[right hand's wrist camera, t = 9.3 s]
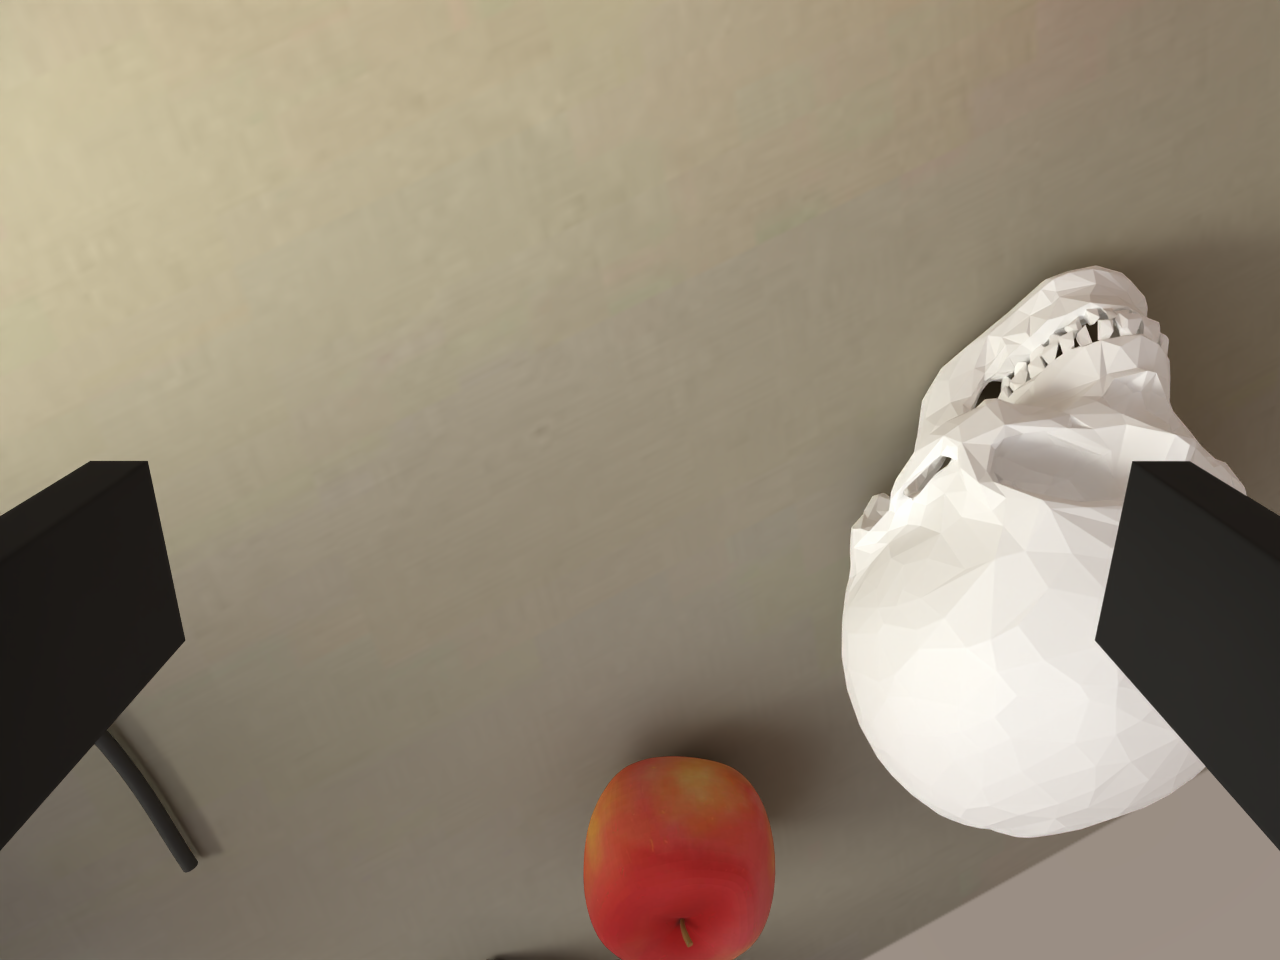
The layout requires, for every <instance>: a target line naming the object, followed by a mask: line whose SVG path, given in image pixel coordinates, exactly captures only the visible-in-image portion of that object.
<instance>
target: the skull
mask: <svg viewBox="0 0 1280 960" xmlns="http://www.w3.org/2000/svg"><path fill="white" fill-rule="evenodd" d="M1147 310H1148V306H1147V303H1146V299H1145V296H1144V295H1143V294H1142V293H1141V292H1140V291H1139V289H1138V288H1137V287H1136V286H1135V285H1134V284H1133V283H1132V281H1131V280H1129V279H1128V278H1127V277H1126V276H1125V275H1124V274H1123V273H1122V272H1118V271H1115V270H1111V269H1107V268H1104V267H1100V266H1097V265H1095V266H1090V267H1085V268H1080V269H1075V270H1070V271H1066V272H1064V273H1061V274H1058V275H1056V276H1053V277H1050V278H1048V279H1045V280H1044V281H1043V282H1041V283H1040V284H1039V285H1038V286H1037V287H1036V288H1035V289H1034V290H1032V291H1031V292H1030V293H1029V294H1028V295H1027V296H1026V297H1025V298H1024V299H1022V300H1021V301H1020V302H1019V303H1018V304H1017V305H1016V306H1015V307H1014V308H1012V309H1011V310H1010V311H1009V312H1008V313H1007V314H1006V315H1004V316H1003V317H1002V318H1001V319H1000V320H998V321H997V322H996V323H995V324H993V325H992V326H991V327H990V328H989V329H987V330H986V331H985V332H984V333H982V334H981V335H980V336H979V337H978V338H976V339H975V340H974V341H973V342H972V343H970V344H969V345H968V346H967V347H965V348H964V349H963V350H962V351H961V352H960V353H958V354H957V355H956V356H955V357H954V358H953V359H951V360H950V361H949V362H948V363H947V364H946V365H944V366H943V367H942V368H941V369H940V371H939V373H938V374H937V376H936V378H935V379H934V381H933V383H932V384H931V386H930V388H929V389H928V391H927V393H926V395H925V397H924V398H923V400H922V405H921V413H920V420H919V427H918V434H917V439H916V444H915V450H914V453H913V455H912V456H911V458H910V459H909V461H908V462H907V464H906V465H905V467H904V468H903V470H902V471H901V473H900V474H899V476H898V477H897V478H896V481H895V483H894V486H893V488H892V491H891V497H890V496H888V495H887V494H885V493H881V494H877V495H874V496H872V498H871V500H870V501H869V503H868V505H867V507H866V508H865V510H864V513H863V515H862V516H861V517H860V518H859V519H858V520H857V522H856V523H855V524H854V525H853V526H852V530H851V538H850V561H851V568H850V575H849V581H848V584H847V588H846V594H845V602H844V610H843V618H842V661H843V667H844V673H845V679H846V686H847V691H848V694H849V696H850V699H851V702H852V705H853V708H854V711H855V714H856V717H857V719H858V722H859V725H860V727H861V729H862V731H863V732H864V734H865V736H866V738H867V740H868V741H869V743H870V745H871V747H872V749H873V750H874V752H875V754H876V756H877V757H878V759H879V760H880V761H881V763H882V764H883V765H884V766H885V768H886V769H887V770H888V771H889V773H890V774H891V775H892V776H893V777H894V778H895V779H896V780H897V781H898V782H899V783H900V784H901V785H902V786H903V787H904V788H905V789H906V790H907V791H908V792H909V793H910V794H912V795H913V796H914V797H916V798H917V799H918V800H920V801H921V802H922V803H924V804H925V805H927V806H928V807H929V808H931V809H932V810H933V811H935V812H936V813H938V814H939V815H941V816H943V817H946V818H948V819H950V820H953V821H956V822H958V823H961V824H963V825H968V826H972V827H977V828H983V829H991V830H993V831H996V832H999V833H1003V834H1007V835H1011V836H1015V837H1025V838H1032V837H1040V836H1047V835H1054V834H1059V833H1064V832H1069V831H1074V830H1079V829H1083V828H1086V827H1089V826H1092V825H1095V824H1098V823H1101V822H1104V821H1107V820H1110V819H1113V818H1116V817H1119V816H1122V815H1125V814H1127V813H1130V812H1133V811H1136V810H1139V809H1142V808H1145V807H1147V806H1149V805H1151V804H1153V803H1154V802H1157V801H1159V800H1160V799H1162V798H1164V797H1166V796H1168V795H1170V794H1171V793H1173V792H1174V791H1175V790H1177V789H1178V788H1180V787H1181V786H1183V785H1184V784H1185V783H1187V782H1188V781H1190V780H1191V779H1193V778H1194V777H1195V776H1196V775H1197V774H1198V773H1199V772H1200V771H1202V770H1203V769H1204V768H1205V767H1206V766H1205V765H1204V764H1203V763H1202V762H1201V761H1200V759H1199V758H1198V757H1197V756H1196V755H1195V754H1194V753H1193V752H1192V750H1191V749H1190V748H1189V747H1188V746H1187V745H1186V744H1185V742H1184V741H1183V740H1182V739H1181V738H1180V737H1179V736H1178V734H1177V733H1176V732H1175V731H1174V730H1173V729H1172V728H1171V727H1170V725H1169V724H1168V723H1167V722H1166V721H1165V720H1164V719H1163V717H1162V716H1161V715H1160V714H1159V713H1158V712H1157V711H1156V709H1155V708H1154V707H1153V706H1152V705H1151V704H1150V703H1149V702H1148V700H1147V699H1146V698H1145V697H1144V696H1143V695H1142V694H1141V692H1140V691H1139V690H1138V689H1137V688H1136V687H1135V686H1134V684H1133V683H1132V682H1131V681H1130V680H1129V679H1128V678H1127V677H1126V675H1125V674H1124V673H1123V672H1122V671H1121V670H1120V669H1119V667H1118V666H1117V665H1116V664H1115V663H1114V662H1113V661H1112V660H1111V658H1110V657H1109V656H1108V655H1107V654H1106V653H1105V652H1104V650H1103V649H1102V648H1101V647H1100V646H1099V645H1098V644H1097V642H1096V641H1095V637H1096V632H1097V627H1098V622H1099V617H1100V613H1101V608H1102V603H1103V598H1104V594H1105V589H1106V584H1107V579H1108V575H1109V570H1110V565H1111V560H1112V555H1113V551H1114V546H1115V541H1116V536H1117V532H1118V527H1119V522H1120V517H1121V512H1122V508H1123V503H1124V498H1125V493H1126V489H1127V484H1128V479H1129V474H1130V470H1131V465H1132V461H1190V462H1192V463H1194V464H1195V465H1197V466H1199V467H1200V468H1202V469H1204V470H1205V471H1207V472H1208V473H1210V474H1212V475H1213V476H1215V477H1217V478H1218V479H1220V480H1221V481H1223V482H1225V483H1226V484H1228V485H1230V486H1231V487H1233V488H1234V489H1236V490H1238V491H1239V492H1241V493H1243V494H1244V495H1246V490H1245V487H1244V486H1243V484H1242V483H1241V482H1240V480H1239V479H1238V478H1237V476H1236V475H1235V474H1234V473H1233V471H1232V470H1231V469H1230V467H1229V466H1228V465H1227V464H1226V463H1225V462H1223V461H1220V460H1217V459H1215V458H1214V457H1213V456H1212V455H1211V454H1210V453H1208V452H1207V451H1206V450H1205V449H1204V448H1203V447H1202V446H1201V445H1200V443H1199V442H1198V441H1197V440H1196V438H1195V437H1194V436H1193V434H1192V433H1191V432H1190V431H1189V429H1188V428H1187V427H1186V426H1185V425H1184V423H1183V422H1182V421H1181V420H1180V419H1179V417H1178V416H1177V415H1176V414H1175V413H1174V411H1173V410H1172V407H1171V404H1170V360H1169V358H1168V357H1167V354H1168V345H1169V339H1168V337H1167V336H1166V335H1165V334H1163V333H1161V332H1160V324H1159V322H1157V321H1155V320H1152V319H1150V318H1148V317H1147ZM1101 319H1105V320H1101ZM1097 320H1098V340H1099V341H1096V342H1093V343H1092V340H1091V338H1090V335H1089V333H1088V330H1087V328H1086V325H1085V326H1084V327H1083V328H1082V325H1084V324H1086V323H1088V324H1089V325H1093V324H1095V322H1096V321H1097ZM1066 332H1067V333H1066ZM1064 333H1066V334H1064ZM1063 334H1064V335H1063ZM1075 338H1076V340H1077V342H1078V343H1079V345H1080V346H1079V347H1076V348H1075V346H1074V339H1075ZM1058 345H1060V346H1061V349H1062V352H1063V354H1062V355H1061V356H1059V357H1058V358H1056V355H1057V352H1058ZM1046 362H1047V364H1048V365H1047V366H1046V364H1045V363H1046ZM1028 363H1029V364H1028ZM1013 375H1014V377H1013V378H1012V380H1011V379H1010V378H1011V377H1012V376H1013ZM1030 378H1031V379H1030ZM991 381H998V382H1002V383H1001V393H1000V395H999V397H998V399H997V398H994V399H985V400H984V401H983V402H982V403H981V404H980V405H978V406H977V407H976V408H975V406H976V404H977V401H978V398H979V396H980V394H981V392H982V391H983V389H984V388H985V387H986V385H987V384H988V383H989V382H991ZM1012 390H1013V393H1012V392H1011V391H1012ZM946 457H950V458H951V459H952V460H951V461H950V463H949V464H948V466H946V467H945V468H943V469H942V470H940V471H939V469H940V468H941V467H942V465H943V463H944V461H945V459H946ZM938 471H939V472H938ZM1246 496H1247V495H1246Z"/></svg>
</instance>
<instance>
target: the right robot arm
mask: <svg viewBox="0 0 1280 960" xmlns="http://www.w3.org/2000/svg"><path fill="white" fill-rule="evenodd" d="M184 641H185V637H184V632H183V627H182V622H181V617H180V613H179V608H178V603H177V598H176V594H175V589H174V584H173V579H172V575H171V570H170V565H169V560H168V555H167V551H166V546H165V541H164V536H163V532H162V527H161V522H160V517H159V512H158V508H157V503H156V498H155V493H154V489H153V484H152V479H151V474H150V470H149V465H148V461H90V462H88V463H86V464H85V465H83V466H81V467H80V468H78V469H76V470H75V471H73V472H72V473H70V474H68V475H67V476H65V477H63V478H62V479H60V480H59V481H57V482H55V483H54V484H52V485H50V486H49V487H47V488H46V489H44V490H42V491H41V492H39V493H37V494H36V495H34V496H32V497H31V498H29V499H28V500H26V501H24V502H23V503H21V504H19V505H18V506H16V507H15V508H13V509H11V510H10V511H8V512H6V513H5V514H3V515H2V516H0V850H1V849H2V848H3V847H4V846H5V845H6V844H7V842H8V841H9V840H10V839H11V838H12V837H13V836H14V834H15V833H16V832H17V831H18V830H19V829H20V828H21V827H22V825H23V824H24V823H25V822H26V821H27V820H28V819H29V817H30V816H31V815H32V814H33V813H34V812H35V811H36V809H37V808H38V807H39V806H40V805H41V804H42V803H43V802H44V800H45V799H46V798H47V797H48V796H49V795H50V794H51V792H52V791H53V790H54V789H55V788H56V787H57V786H58V784H59V783H60V782H61V781H62V780H63V779H64V778H65V777H66V775H67V774H68V773H69V772H70V771H71V770H72V769H73V767H74V766H75V765H76V764H77V763H78V762H79V761H80V759H81V758H82V757H83V756H84V755H85V754H86V753H87V752H88V750H89V749H90V748H91V747H92V746H93V745H94V744H95V745H96V746H97V747H98V748H99V749H100V750H101V752H102V753H103V754H104V755H105V756H106V758H107V759H108V760H109V761H110V763H111V764H112V765H113V766H114V768H115V769H116V770H117V772H118V773H119V774H120V776H121V777H122V778H123V780H124V781H125V782H126V784H127V785H128V786H129V788H130V789H131V791H132V792H133V793H134V795H135V796H136V798H137V799H138V801H139V802H140V804H141V805H142V807H143V808H144V810H145V811H146V813H147V815H148V816H149V818H150V819H151V821H152V823H153V824H154V826H155V827H156V829H157V831H158V832H159V834H160V835H161V837H162V839H163V840H164V842H165V843H166V845H167V847H168V848H169V850H170V851H171V853H172V854H173V856H174V858H175V859H176V861H177V862H178V864H179V865H180V867H181V868H182V870H183V871H184V872H189V871H191V870H193V869H194V868H195V867H196V866H197V864H198V861H197V860H196V858H195V857H194V855H193V854H192V852H191V851H190V849H189V847H188V846H187V844H186V843H185V841H184V839H183V838H182V836H181V835H180V833H179V831H178V830H177V828H176V826H175V825H174V823H173V821H172V820H171V818H170V817H169V815H168V813H167V812H166V810H165V808H164V807H163V805H162V804H161V802H160V801H159V799H158V797H157V796H156V794H155V793H154V791H153V790H152V788H151V787H150V785H149V784H148V782H147V781H146V779H145V778H144V777H143V775H142V774H141V772H140V771H139V770H138V768H137V767H136V766H135V764H134V763H133V762H132V760H131V759H130V758H129V756H128V755H127V754H126V752H125V751H124V750H123V749H122V747H121V746H120V745H119V744H118V743H117V741H116V740H115V739H114V738H113V737H112V736H111V734H110V733H109V732H108V731H107V729H108V728H109V727H110V725H111V724H112V723H113V722H114V721H115V720H116V719H117V717H118V716H119V715H120V714H121V713H122V712H123V711H124V709H125V708H126V707H127V706H128V705H129V704H130V703H131V702H132V700H133V699H134V698H135V697H136V696H137V695H138V694H139V692H140V691H141V690H142V689H143V688H144V687H145V686H146V684H147V683H148V682H149V681H150V680H151V679H152V678H153V677H154V675H155V674H156V673H157V672H158V671H159V670H160V669H161V667H162V666H163V665H164V664H165V663H166V662H167V661H168V660H169V658H170V657H171V656H172V655H173V654H174V653H175V652H176V650H177V649H178V648H179V647H180V646H181V645H182V644H183V642H184ZM1095 641H1096V642H1097V644H1098V645H1099V646H1100V647H1101V648H1102V649H1103V650H1104V652H1105V653H1106V654H1107V655H1108V656H1109V657H1110V658H1111V660H1112V661H1113V662H1114V663H1115V664H1116V665H1117V666H1118V667H1119V669H1120V670H1121V671H1122V672H1123V673H1124V674H1125V675H1126V677H1127V678H1128V679H1129V680H1130V681H1131V682H1132V683H1133V684H1134V686H1135V687H1136V688H1137V689H1138V690H1139V691H1140V692H1141V694H1142V695H1143V696H1144V697H1145V698H1146V699H1147V700H1148V702H1149V703H1150V704H1151V705H1152V706H1153V707H1154V708H1155V709H1156V711H1157V712H1158V713H1159V714H1160V715H1161V716H1162V717H1163V719H1164V720H1165V721H1166V722H1167V723H1168V724H1169V725H1170V727H1171V728H1172V729H1173V730H1174V731H1175V732H1176V733H1177V734H1178V736H1179V737H1180V738H1181V739H1182V740H1183V741H1184V742H1185V744H1186V745H1187V746H1188V747H1189V748H1190V749H1191V750H1192V752H1193V753H1194V754H1195V755H1196V756H1197V757H1198V758H1199V759H1200V761H1201V762H1202V763H1203V764H1204V765H1205V766H1206V767H1207V769H1208V770H1209V771H1210V772H1211V773H1212V774H1213V775H1214V776H1215V778H1216V779H1217V780H1218V781H1219V782H1220V783H1221V784H1222V786H1223V787H1224V788H1225V789H1226V790H1227V791H1228V792H1229V794H1230V795H1231V796H1232V797H1233V798H1234V799H1235V800H1236V801H1237V803H1238V804H1239V805H1240V806H1241V807H1242V808H1243V809H1244V811H1245V812H1246V813H1247V814H1248V815H1249V816H1250V817H1251V818H1252V820H1253V821H1254V822H1255V823H1256V824H1257V825H1258V827H1259V828H1260V829H1261V830H1262V831H1263V832H1264V833H1265V834H1266V836H1267V837H1268V838H1269V839H1270V840H1271V841H1272V842H1273V843H1274V845H1275V846H1276V847H1277V848H1278V849H1279V850H1280V516H1278V515H1277V514H1275V513H1274V512H1272V511H1270V510H1269V509H1267V508H1265V507H1264V506H1262V505H1261V504H1259V503H1257V502H1256V501H1254V500H1252V499H1251V498H1249V497H1248V496H1246V495H1244V494H1243V493H1241V492H1239V491H1238V490H1236V489H1234V488H1233V487H1231V486H1230V485H1228V484H1226V483H1225V482H1223V481H1221V480H1220V479H1218V478H1217V477H1215V476H1213V475H1212V474H1210V473H1208V472H1207V471H1205V470H1204V469H1202V468H1200V467H1199V466H1197V465H1195V464H1194V463H1192V462H1190V461H1132V465H1131V470H1130V474H1129V479H1128V484H1127V489H1126V493H1125V498H1124V503H1123V508H1122V512H1121V517H1120V522H1119V527H1118V532H1117V536H1116V541H1115V546H1114V551H1113V555H1112V560H1111V565H1110V570H1109V575H1108V579H1107V584H1106V589H1105V594H1104V598H1103V603H1102V608H1101V613H1100V617H1099V622H1098V627H1097V632H1096V637H1095Z"/></svg>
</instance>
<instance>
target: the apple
mask: <svg viewBox="0 0 1280 960" xmlns="http://www.w3.org/2000/svg"><path fill="white" fill-rule="evenodd" d="M774 883H775V853H774V844H773V837H772V832H771V828H770V823H769V820H768V817H767V814H766V811H765V808H764V806H763V804H762V801H761V799H760V797H759V795H758V794H757V792H756V791H755V789H754V788H753V786H752V785H751V783H750V782H749V781H748V780H747V779H746V778H745V777H744V776H743V775H742V774H741V773H740V772H738V771H737V770H735V769H734V768H732V767H730V766H727V765H725V764H722V763H719V762H715V761H711V760H706V759H700V758H693V757H681V756H665V757H654V758H649V759H645V760H641V761H639V762H636V763H633V764H631V765H629V766H627V767H625V768H624V769H622V770H621V771H620V772H619V773H618V774H616V776H615V777H614V778H613V779H612V780H611V781H610V782H609V784H608V785H607V787H606V788H605V790H604V791H603V793H602V795H601V796H600V798H599V800H598V802H597V804H596V807H595V809H594V811H593V814H592V816H591V820H590V823H589V827H588V831H587V837H586V844H585V853H584V891H585V898H586V904H587V909H588V912H589V916H590V919H591V922H592V925H593V927H594V929H595V931H596V933H597V935H598V937H599V939H600V940H601V941H602V943H603V944H604V945H605V946H606V947H607V948H608V949H609V950H610V951H611V952H612V953H614V954H615V955H616V956H618V957H619V958H620V959H622V960H733V959H735V958H736V957H738V956H739V955H741V954H742V953H744V952H745V951H746V950H747V949H749V948H750V947H751V946H752V945H753V944H754V942H755V941H756V940H757V939H758V937H759V935H760V934H761V932H762V930H763V929H764V926H765V924H766V921H767V918H768V916H769V912H770V908H771V904H772V899H773V892H774Z"/></svg>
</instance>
